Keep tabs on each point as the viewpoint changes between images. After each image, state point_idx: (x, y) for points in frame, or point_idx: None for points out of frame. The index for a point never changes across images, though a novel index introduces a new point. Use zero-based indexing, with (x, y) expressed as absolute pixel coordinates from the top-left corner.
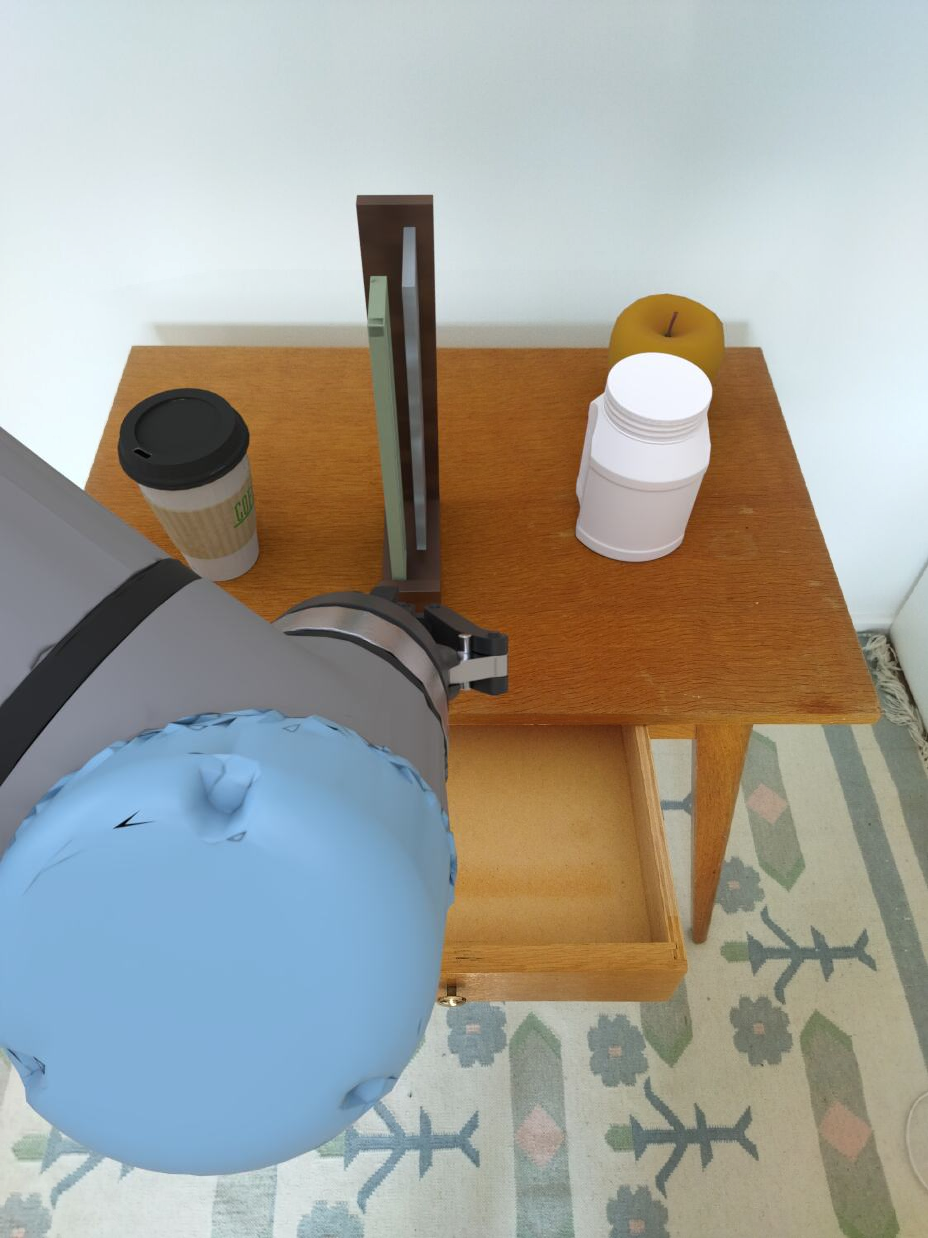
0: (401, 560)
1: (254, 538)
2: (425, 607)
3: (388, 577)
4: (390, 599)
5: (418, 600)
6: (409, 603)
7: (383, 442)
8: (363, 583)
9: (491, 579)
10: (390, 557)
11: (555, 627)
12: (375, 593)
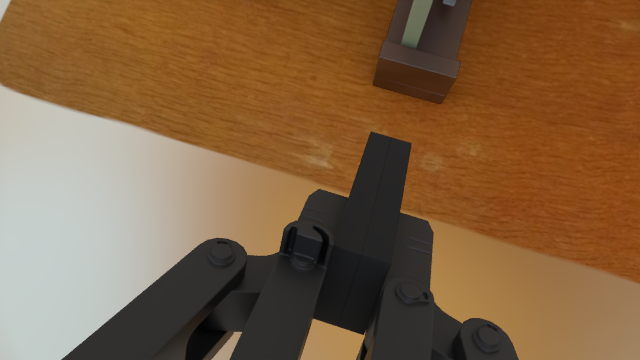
0: (421, 27)
1: None
2: (464, 339)
3: (397, 29)
4: (389, 244)
5: (424, 78)
6: (412, 78)
7: None
8: (366, 24)
9: (517, 62)
10: (408, 19)
11: (575, 150)
12: (365, 181)
